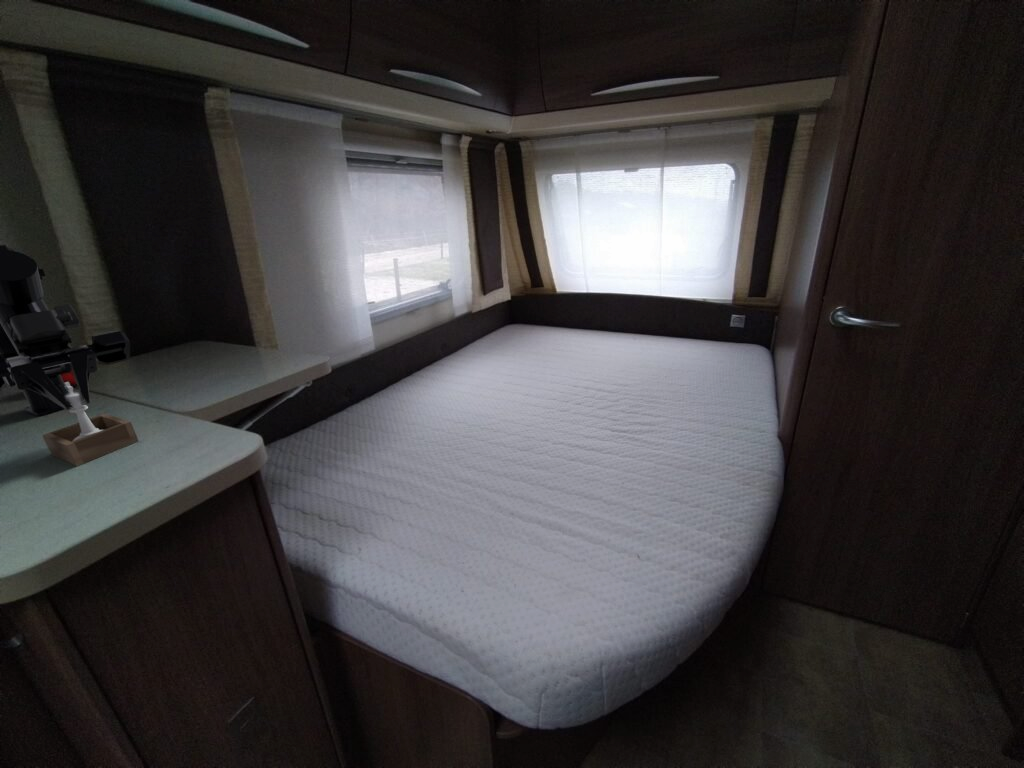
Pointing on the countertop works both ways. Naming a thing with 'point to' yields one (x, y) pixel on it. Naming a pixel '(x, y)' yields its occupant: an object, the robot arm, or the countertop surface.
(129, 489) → the countertop surface
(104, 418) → the walnut collar
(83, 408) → the chess piece
